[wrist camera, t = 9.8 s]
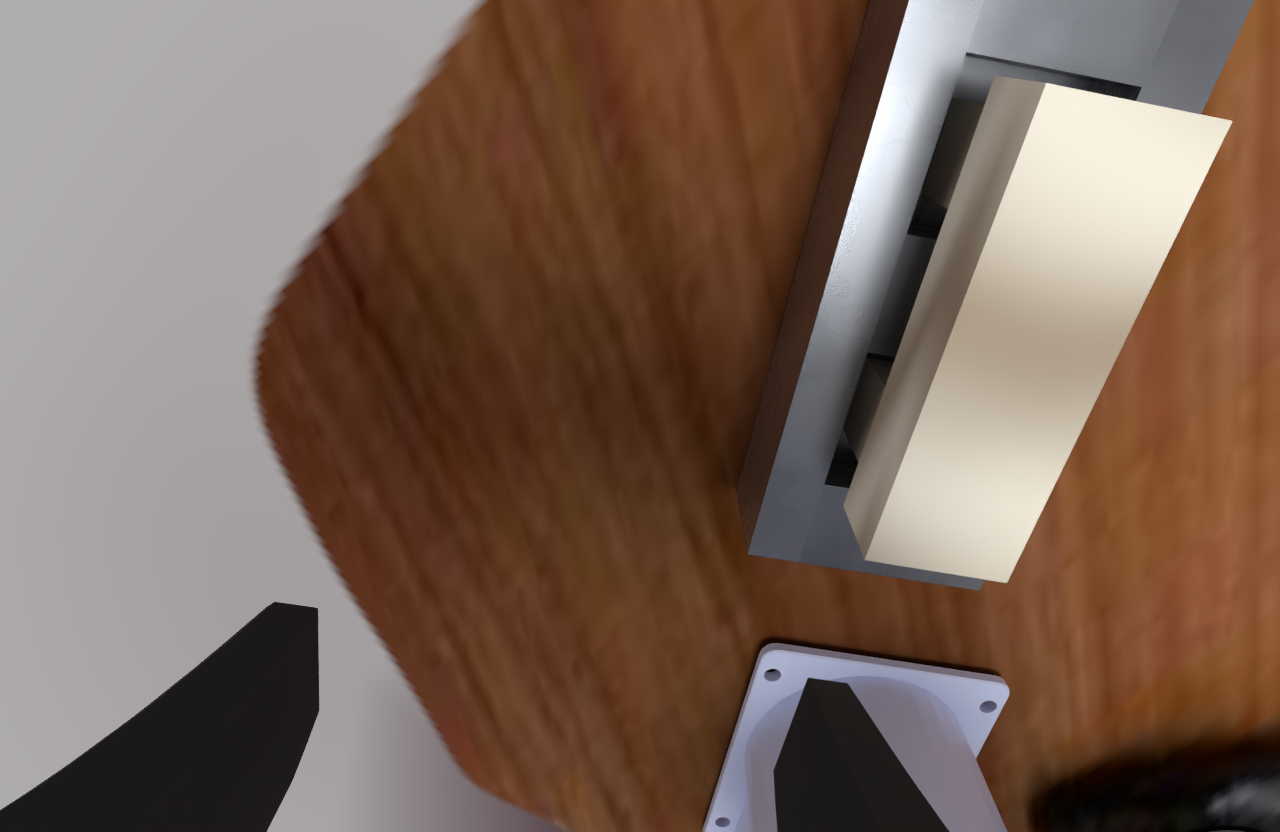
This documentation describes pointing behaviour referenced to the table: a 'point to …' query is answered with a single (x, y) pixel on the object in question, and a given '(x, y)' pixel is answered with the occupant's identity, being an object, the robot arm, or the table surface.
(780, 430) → the slot rail
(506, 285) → the table surface
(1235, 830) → the energy drink
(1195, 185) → the cream stepped block
